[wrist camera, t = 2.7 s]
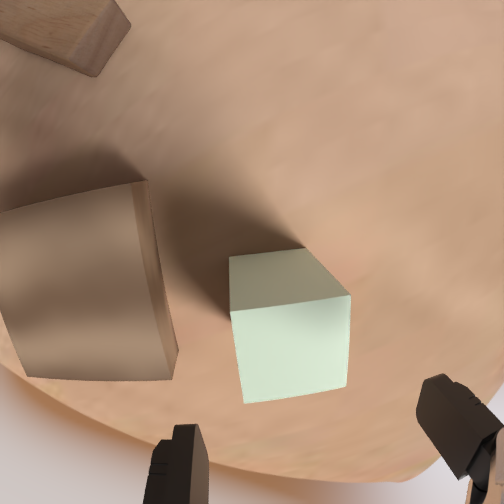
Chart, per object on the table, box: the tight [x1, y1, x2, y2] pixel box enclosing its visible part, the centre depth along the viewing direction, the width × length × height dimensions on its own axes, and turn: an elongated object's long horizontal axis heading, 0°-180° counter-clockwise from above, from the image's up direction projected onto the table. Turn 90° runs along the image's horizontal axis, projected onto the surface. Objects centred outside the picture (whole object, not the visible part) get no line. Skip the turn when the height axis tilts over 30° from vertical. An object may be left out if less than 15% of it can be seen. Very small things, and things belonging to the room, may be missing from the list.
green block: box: [229, 248, 351, 403], centre depth 17 cm, size 5×5×8 cm
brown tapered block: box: [0, 180, 179, 381], centre depth 18 cm, size 12×12×4 cm
